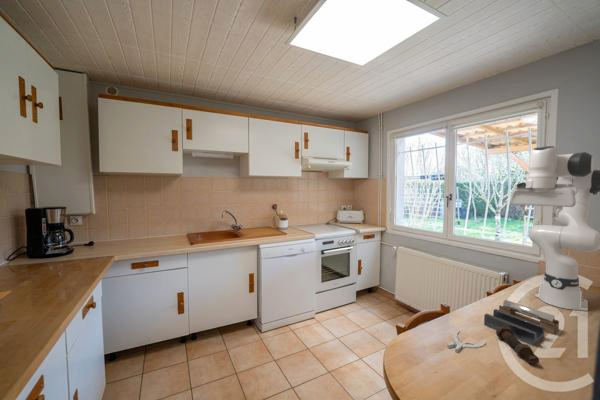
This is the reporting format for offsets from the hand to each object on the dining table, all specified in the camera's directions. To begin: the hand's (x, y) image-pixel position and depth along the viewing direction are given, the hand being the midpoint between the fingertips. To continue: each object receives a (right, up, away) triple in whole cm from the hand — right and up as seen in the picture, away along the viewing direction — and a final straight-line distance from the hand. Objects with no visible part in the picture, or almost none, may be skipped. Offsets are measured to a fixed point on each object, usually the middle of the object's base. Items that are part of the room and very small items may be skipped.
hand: (539, 216), depth 107 cm
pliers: (-43, -47, -14) cm, 66 cm away
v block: (-18, -46, -7) cm, 50 cm away
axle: (-5, -41, 0) cm, 42 cm away
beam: (-5, -46, 0) cm, 46 cm away
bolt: (-27, -47, -19) cm, 58 cm away
